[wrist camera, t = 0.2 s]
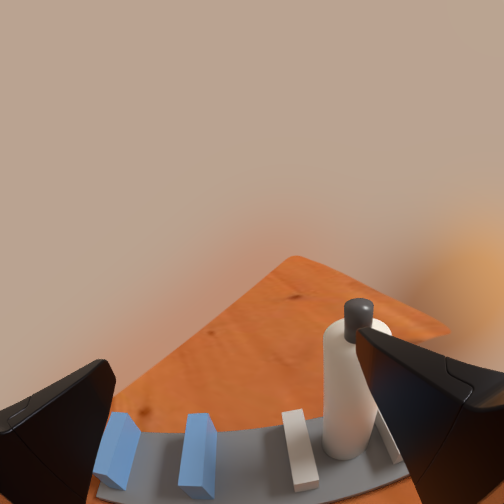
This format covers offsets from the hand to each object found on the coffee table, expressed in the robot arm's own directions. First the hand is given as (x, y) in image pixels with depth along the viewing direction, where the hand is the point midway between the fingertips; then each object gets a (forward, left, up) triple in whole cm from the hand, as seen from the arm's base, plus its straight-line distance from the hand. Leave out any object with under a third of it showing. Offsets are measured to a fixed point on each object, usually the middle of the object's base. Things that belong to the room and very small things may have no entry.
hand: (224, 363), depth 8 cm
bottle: (+5, -7, -16) cm, 18 cm away
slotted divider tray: (+4, +1, -17) cm, 17 cm away
